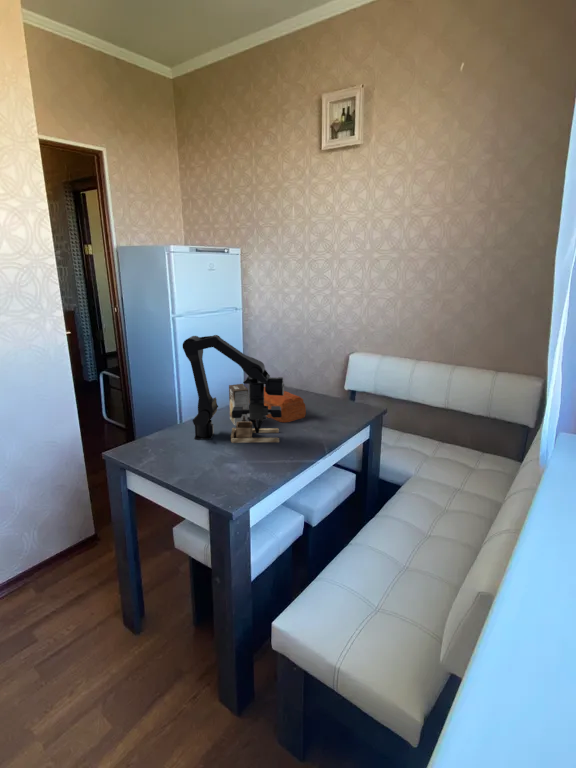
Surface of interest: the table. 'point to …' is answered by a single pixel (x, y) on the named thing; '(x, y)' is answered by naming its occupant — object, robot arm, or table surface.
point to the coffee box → (238, 401)
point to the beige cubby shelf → (249, 440)
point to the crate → (244, 430)
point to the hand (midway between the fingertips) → (257, 432)
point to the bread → (286, 406)
